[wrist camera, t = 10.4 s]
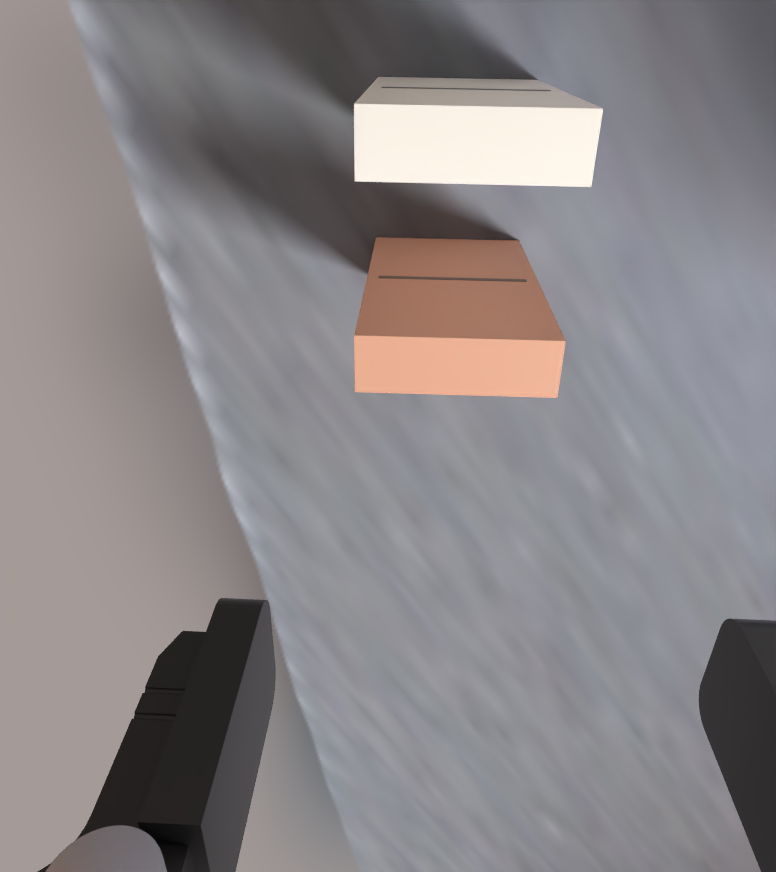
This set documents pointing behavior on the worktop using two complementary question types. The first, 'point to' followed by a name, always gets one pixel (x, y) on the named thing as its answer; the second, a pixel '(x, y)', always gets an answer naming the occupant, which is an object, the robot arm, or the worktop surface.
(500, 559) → the worktop surface
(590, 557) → the worktop surface
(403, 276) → the rust tile
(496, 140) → the ivory tile
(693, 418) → the worktop surface
